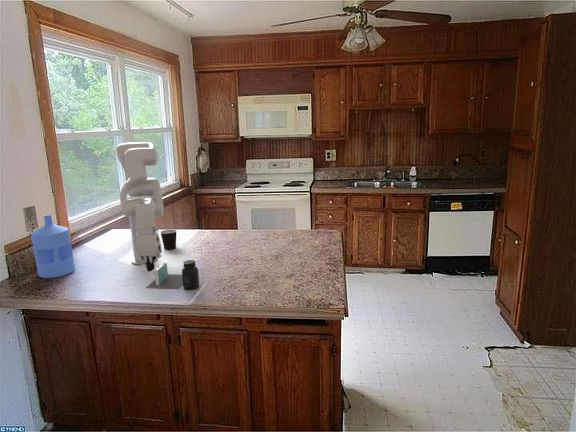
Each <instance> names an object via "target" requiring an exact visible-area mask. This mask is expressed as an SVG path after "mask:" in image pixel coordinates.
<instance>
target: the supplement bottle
mask: <svg viewBox="0 0 576 432" xmlns="http://www.w3.org/2000/svg"><path fill="white" fill-rule="evenodd" d="M199 274H200V273H199V268H198V267H197V266H196V260H195V259H194V260H193V259H189V260H184V261H183V268H182V269H181V275H182V279H183V285H182V289H183V290H185V291H194V290H195V291H196V290H197V289H199V288H200V276H199Z"/></svg>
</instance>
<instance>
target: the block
mask: <svg viewBox="0 0 576 432" xmlns="http://www.w3.org/2000/svg"><path fill="white" fill-rule="evenodd" d="M167 264H168V263H167V262H162V263H161V264H160V265H159V266H158V267H156V268H154V277H155V279H156V285H160V284H161V283H162V282H163V281H164V280H165V279H166V278H168V274H169V271H168V265H167ZM155 279H154V280H155Z"/></svg>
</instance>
